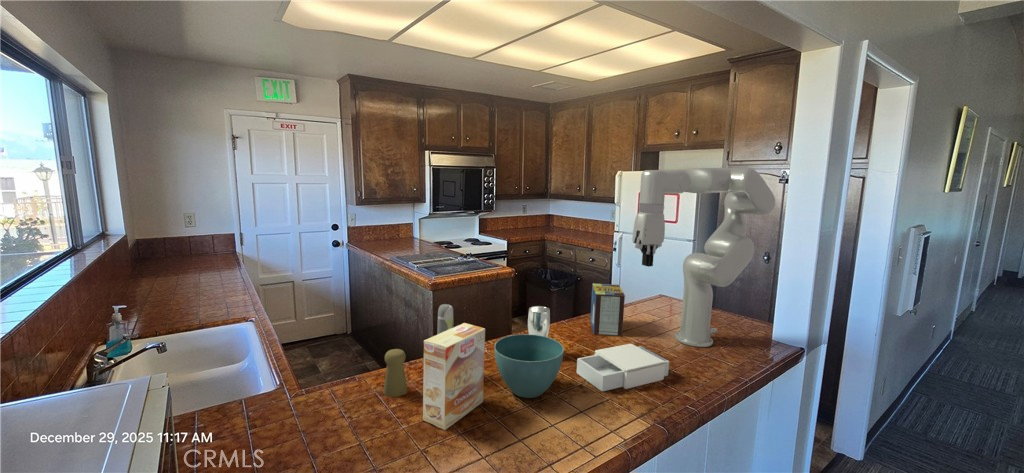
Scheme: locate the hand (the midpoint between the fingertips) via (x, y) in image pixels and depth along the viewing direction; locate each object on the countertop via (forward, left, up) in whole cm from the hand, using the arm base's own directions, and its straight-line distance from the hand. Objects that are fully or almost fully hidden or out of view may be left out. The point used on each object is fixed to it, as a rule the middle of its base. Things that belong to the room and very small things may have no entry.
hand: (647, 265), depth 139 cm
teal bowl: (+48, +9, -29) cm, 57 cm away
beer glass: (+34, -10, -29) cm, 46 cm away
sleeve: (+16, +12, -29) cm, 35 cm away
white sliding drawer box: (+18, +12, -29) cm, 36 cm away
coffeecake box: (+69, +11, -29) cm, 75 cm away
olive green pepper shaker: (+80, -4, -29) cm, 85 cm away
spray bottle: (+65, -9, -29) cm, 72 cm away
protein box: (-2, -21, -29) cm, 36 cm away
